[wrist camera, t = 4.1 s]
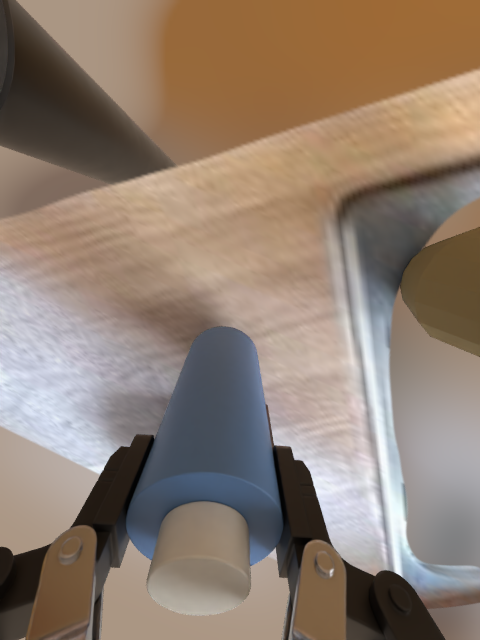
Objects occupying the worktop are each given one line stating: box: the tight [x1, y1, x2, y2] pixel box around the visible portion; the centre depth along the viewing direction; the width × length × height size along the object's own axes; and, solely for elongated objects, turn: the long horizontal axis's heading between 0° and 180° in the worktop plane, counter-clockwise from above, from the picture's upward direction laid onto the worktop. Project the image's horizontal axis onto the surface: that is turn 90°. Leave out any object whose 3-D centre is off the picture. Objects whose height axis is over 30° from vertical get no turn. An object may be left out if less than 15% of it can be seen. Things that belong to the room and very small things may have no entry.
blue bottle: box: [126, 327, 284, 616], centre depth 13 cm, size 5×5×14 cm
